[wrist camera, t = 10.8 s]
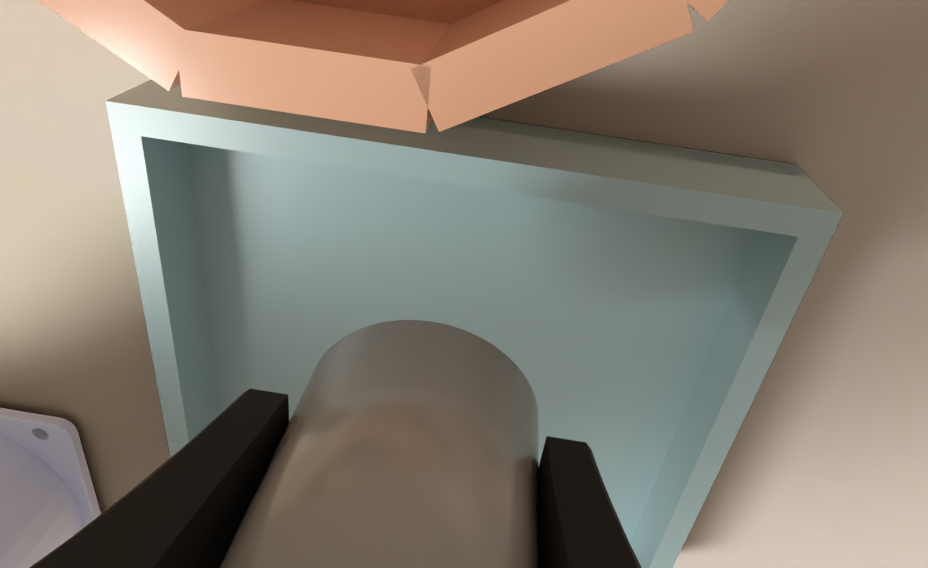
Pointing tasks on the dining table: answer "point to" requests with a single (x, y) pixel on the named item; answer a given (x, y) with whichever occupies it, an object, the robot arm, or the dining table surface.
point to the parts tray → (474, 272)
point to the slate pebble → (402, 459)
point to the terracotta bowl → (377, 50)
